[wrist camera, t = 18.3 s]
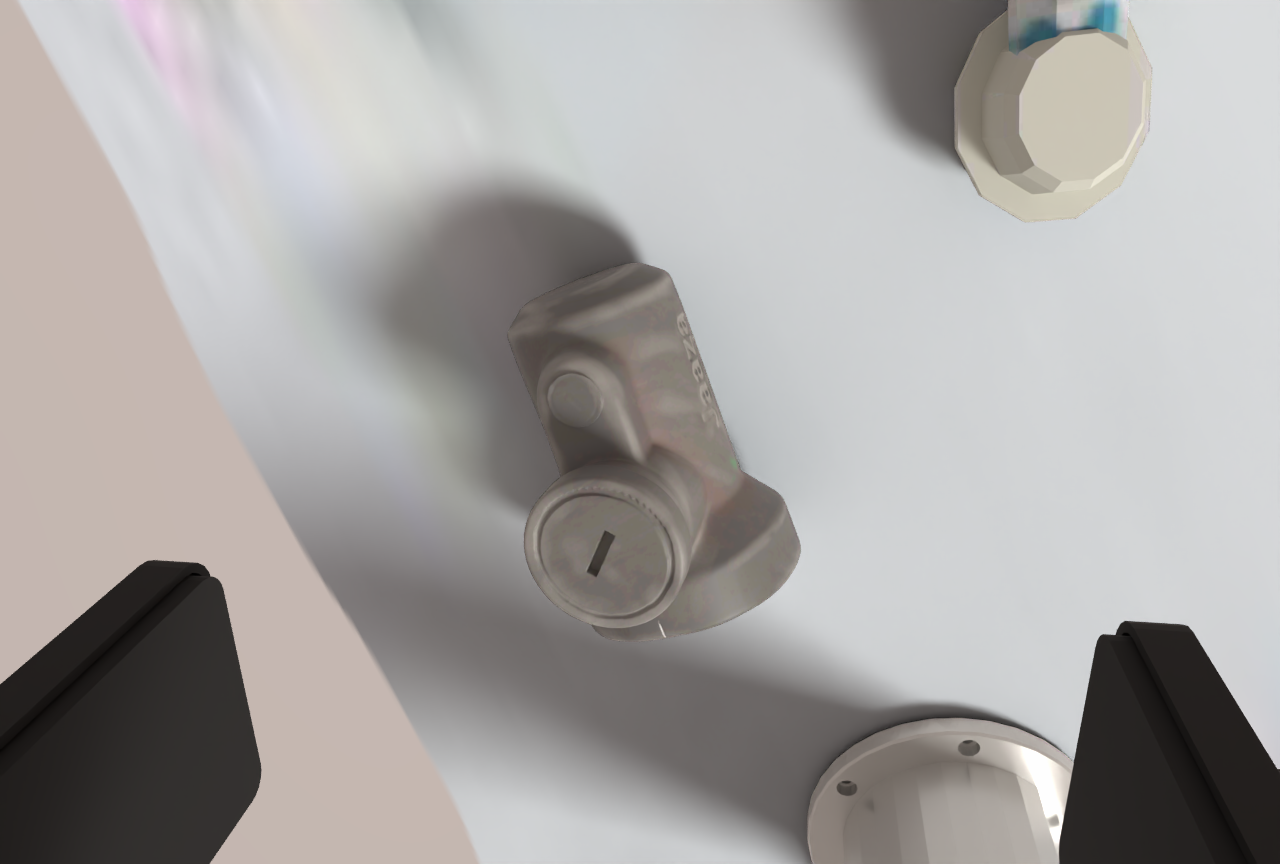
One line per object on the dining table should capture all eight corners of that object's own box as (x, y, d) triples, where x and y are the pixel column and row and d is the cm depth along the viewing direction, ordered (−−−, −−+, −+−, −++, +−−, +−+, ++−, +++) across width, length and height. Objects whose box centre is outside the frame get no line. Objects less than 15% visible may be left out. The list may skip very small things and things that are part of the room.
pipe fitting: (816, 524, 39) (784, 673, 30) (627, 562, 42) (543, 710, 32) (721, 224, 36) (651, 287, 26) (524, 287, 38) (397, 364, 29)
